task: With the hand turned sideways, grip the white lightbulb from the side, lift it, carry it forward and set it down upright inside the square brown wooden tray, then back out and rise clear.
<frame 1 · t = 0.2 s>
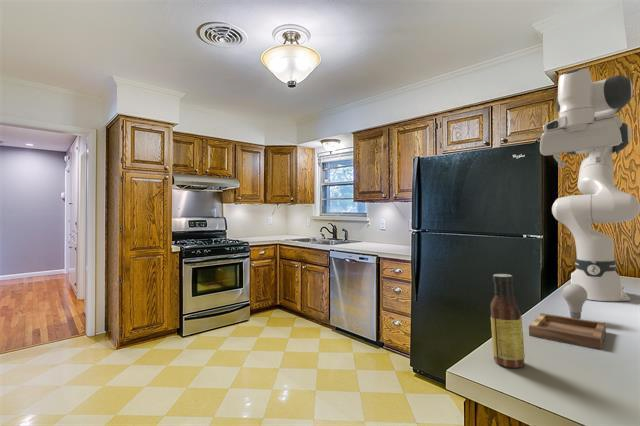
hand: (579, 165, 105), 48 cm above the worktop, tool pointing down, fingers open, 8 cm apart
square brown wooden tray: (567, 333, 92), on the worktop
sauce bottle: (508, 363, 76), on the worktop
lightbulb: (575, 320, 103), on the worktop
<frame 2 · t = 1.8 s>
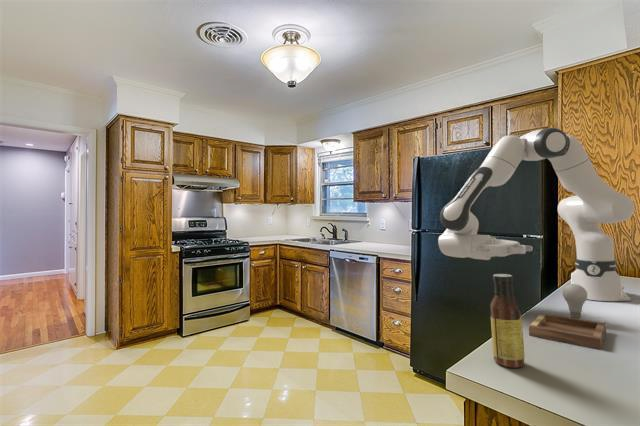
hand: (528, 249, 111), 21 cm above the worktop, tool horizontal, fingers open, 8 cm apart
nothing on the worktop moved.
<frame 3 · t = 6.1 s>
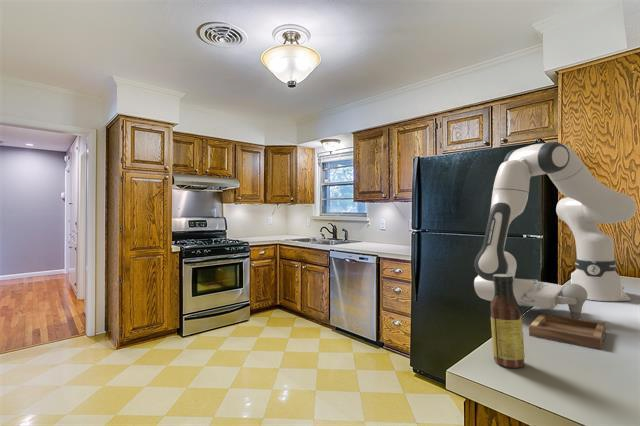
hand: (578, 299, 102), 7 cm above the worktop, tool horizontal, fingers closed on lightbulb, 5 cm apart
lightbulb: (575, 320, 103), on the worktop, touching gripper
everything else where it was.
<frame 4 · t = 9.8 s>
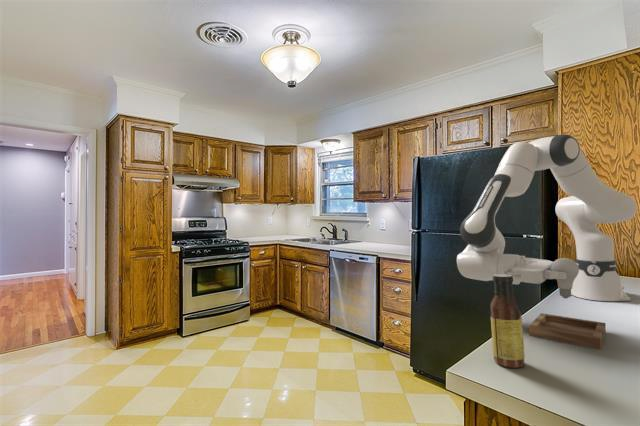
hand: (568, 273, 91), 17 cm above the worktop, tool horizontal, fingers closed on lightbulb, 5 cm apart
lightbulb: (565, 299, 92), point 10 cm above the worktop, touching gripper
everything else where it was.
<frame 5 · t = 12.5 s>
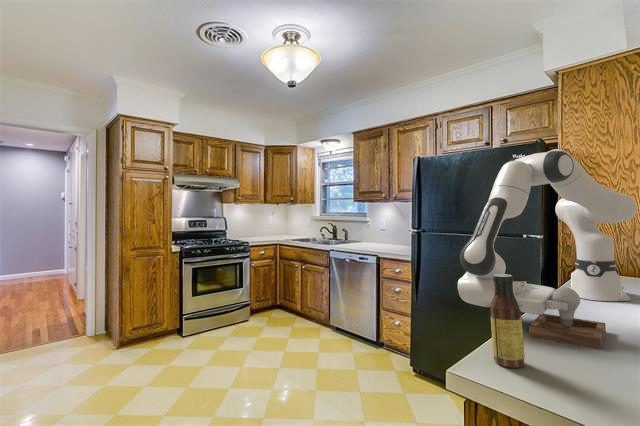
hand: (570, 303, 91), 8 cm above the worktop, tool horizontal, fingers closed on lightbulb, 5 cm apart
lightbulb: (566, 329, 92), point 1 cm above the worktop, touching gripper
everything else where it was.
when the fingers open (8 cm above the worktop, at t = 12.7 s): lightbulb moves 2 cm, resting on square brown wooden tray.
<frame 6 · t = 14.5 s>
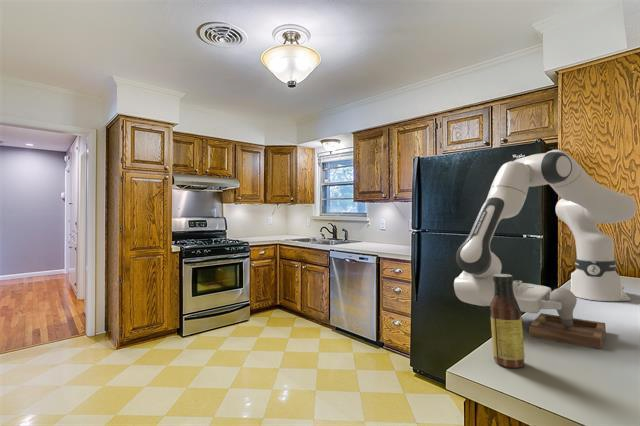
hand: (564, 302, 92), 9 cm above the worktop, tool horizontal, fingers open, 8 cm apart
lightbulb: (568, 328, 93), point 1 cm above the worktop, touching gripper, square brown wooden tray
everything else where it was.
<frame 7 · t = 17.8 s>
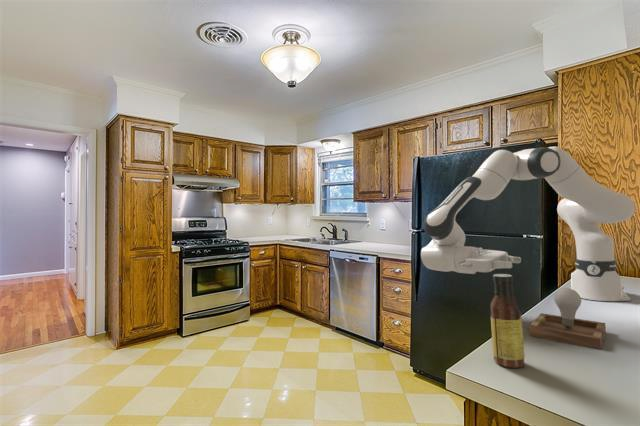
hand: (516, 262, 101), 19 cm above the worktop, tool horizontal, fingers open, 8 cm apart
lightbulb: (568, 328, 93), point 1 cm above the worktop, touching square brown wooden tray
everything else where it was.
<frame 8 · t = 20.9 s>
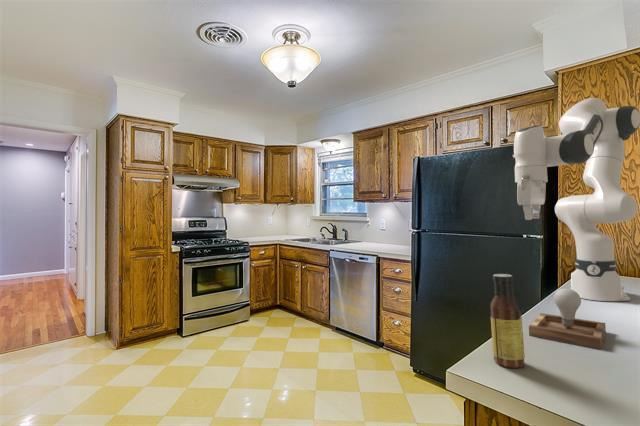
hand: (532, 219, 108), 31 cm above the worktop, tool pointing down, fingers open, 8 cm apart
nothing on the worktop moved.
at the end: lightbulb 2.0 cm off-centre on the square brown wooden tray, point 0.8 cm above the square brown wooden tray's base; lightbulb tilted 1°; the gripper is holding nothing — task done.
